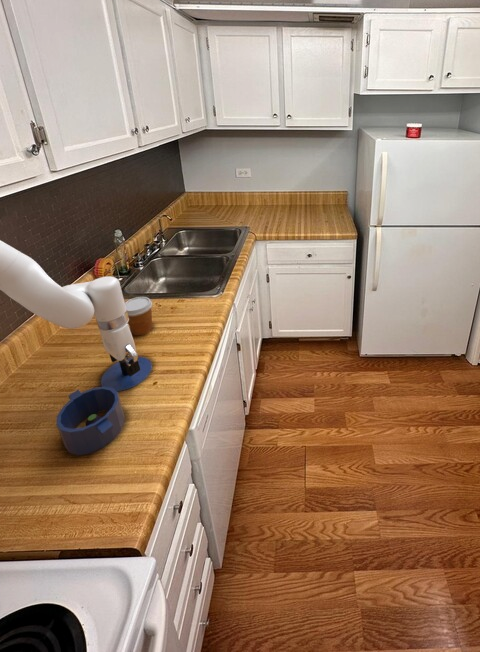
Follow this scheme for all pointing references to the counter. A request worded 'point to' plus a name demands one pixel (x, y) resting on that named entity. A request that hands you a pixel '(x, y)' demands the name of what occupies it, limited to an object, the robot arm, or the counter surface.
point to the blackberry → (92, 419)
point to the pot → (82, 408)
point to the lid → (125, 375)
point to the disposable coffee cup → (139, 315)
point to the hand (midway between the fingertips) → (125, 366)
